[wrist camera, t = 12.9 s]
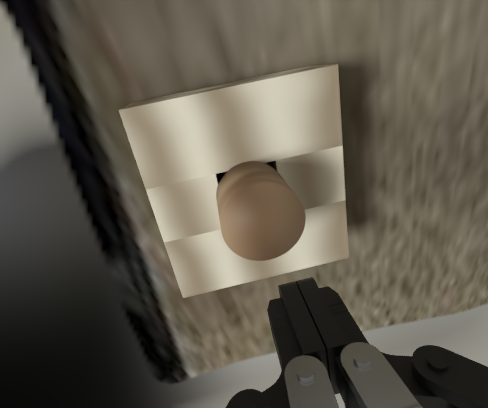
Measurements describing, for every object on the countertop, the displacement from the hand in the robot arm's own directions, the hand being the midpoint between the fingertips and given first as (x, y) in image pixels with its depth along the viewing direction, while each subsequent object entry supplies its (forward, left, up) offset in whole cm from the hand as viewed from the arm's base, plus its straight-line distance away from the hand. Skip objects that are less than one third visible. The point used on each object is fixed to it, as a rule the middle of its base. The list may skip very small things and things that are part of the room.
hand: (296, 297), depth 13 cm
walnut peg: (0, 0, -16) cm, 16 cm away
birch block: (0, 0, -17) cm, 17 cm away
